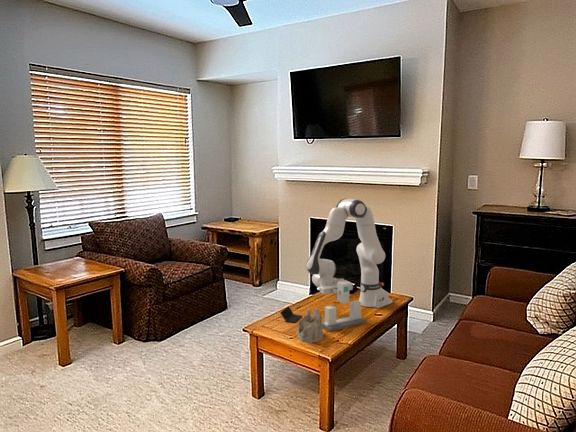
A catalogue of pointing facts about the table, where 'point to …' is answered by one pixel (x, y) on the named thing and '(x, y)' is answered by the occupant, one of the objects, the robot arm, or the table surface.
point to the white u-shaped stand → (343, 322)
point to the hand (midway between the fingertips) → (344, 291)
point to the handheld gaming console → (290, 315)
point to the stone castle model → (310, 327)
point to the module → (343, 292)
